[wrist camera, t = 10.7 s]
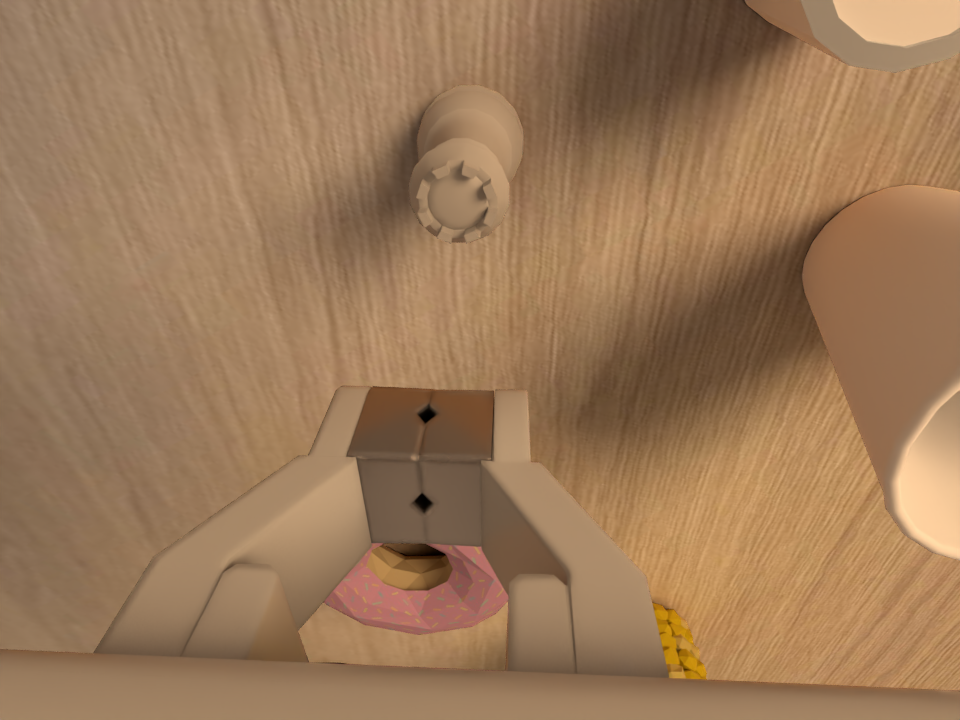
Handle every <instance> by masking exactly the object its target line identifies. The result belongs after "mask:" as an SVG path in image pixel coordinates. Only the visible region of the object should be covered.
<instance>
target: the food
mask: <svg viewBox="0 0 960 720" xmlns="http://www.w3.org/2000/svg"><path fill="white" fill-rule="evenodd" d="M652 604H653V608H654V613H655V617H656V621H657V626H658V630H659V635H660V639H661V643H662V648H663V652H664V656H665V661H666V665H667V669H668V674H669V678H682V679H705V680H707V679H706V674H707V673H706V670H705V667H704V664H703V663H702V662H700V656H699V648H698V647H696V646H694V643H693V642H692V641H693V637H692V634H691V632H690V629H689V627H688V625H687V622H686V621H685V620H684V619H682V618H681V617H680V616H678V614H677V613H676V612H675V611H674V609H667V610H665V609H664V607H663V606H662V605H659V604H655V603H652Z"/></svg>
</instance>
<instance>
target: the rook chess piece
mask: <svg viewBox="0 0 960 720" xmlns="http://www.w3.org/2000/svg"><path fill="white" fill-rule="evenodd" d="M523 144H524V131H523V128H522V125H521V123H520V120H519V117H518V115H517V112H516V110H515V109H514V108H513V107H512V106H511V105H510V103H509V102H508V101H507V100H506V99H505V98H504V97H503V96H502V95H501V94H500V93H497V92H495V91H493V90H490V89H488V88H486V87H484V86H481V85H458V86H456V87H454V88H452V89H450V90H448V91H446V92H444V93H442V94H440V95H438V96H437V97H436V99H435V100H434V101H433V102H432V103H431V105H430V106H429V107H428V108H427V109H426V111H425V112H424V115H423V118H422V122H421V125H420V128H419V131H418V136H417V146H418V158H419V162H418V163H417V164H416V166H415V167H414V170H413V173H412V176H411V179H410V183H409V196H410V206H411V208H412V209H413V211H414V213H415V215H416V217H417V219H418V221H419V223H420V224H421V225H422V226H424V227H425V228H426V229H427V230H428V231H429V232H430V233H432V234H433V235H434V236H436V237H437V239H440V240H442V241H445V242H448V243H450V244H451V242H466V244H467V243H469V242H473V241H475V240H478V239H480V238H483V237H486V236H488V235H489V234H490V233H491V232H492V231H493V230H494V229H495V228H496V227H497V226H498V225H500V224H501V223H502V221H503V218H504V216H505V214H506V211H507V209H508V207H509V182H510V181H511V180H512V179H513V178H514V177H515V174H516V172H517V169H518V167H519V165H520V162H521V160H522V155H523Z"/></svg>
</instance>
